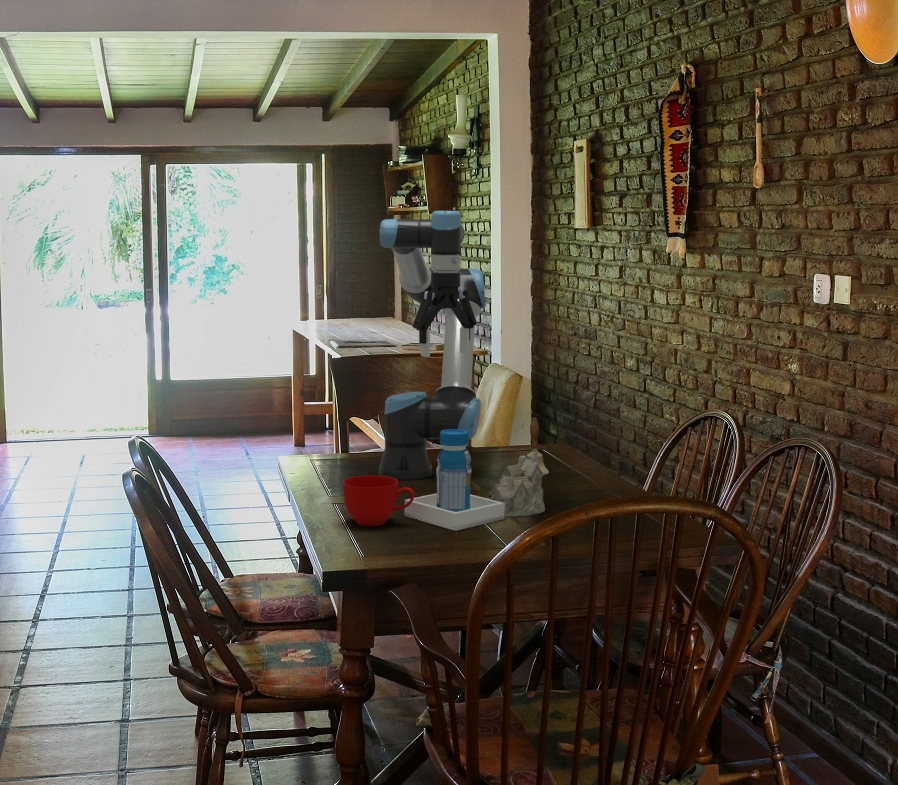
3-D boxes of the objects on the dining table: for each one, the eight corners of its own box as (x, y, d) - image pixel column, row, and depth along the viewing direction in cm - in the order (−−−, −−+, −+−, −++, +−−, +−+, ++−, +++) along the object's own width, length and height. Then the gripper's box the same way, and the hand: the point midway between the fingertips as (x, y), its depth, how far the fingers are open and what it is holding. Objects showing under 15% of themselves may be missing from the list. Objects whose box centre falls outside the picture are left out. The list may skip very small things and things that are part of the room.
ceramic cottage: (524, 497, 286) (523, 441, 283) (556, 514, 271) (555, 455, 268) (470, 507, 280) (468, 449, 277) (499, 525, 265) (498, 464, 262)
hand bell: (529, 476, 312) (530, 421, 310) (514, 471, 319) (515, 416, 317) (554, 474, 316) (555, 419, 314) (539, 468, 323) (540, 414, 321)
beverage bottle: (447, 519, 259) (448, 435, 257) (429, 511, 267) (430, 430, 264) (477, 515, 264) (478, 432, 261) (459, 507, 271) (460, 427, 268)
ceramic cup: (408, 532, 252) (408, 489, 250) (336, 528, 255) (336, 485, 253) (419, 518, 264) (419, 477, 263) (351, 514, 267) (351, 474, 266)
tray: (404, 516, 266) (404, 499, 266) (453, 505, 277) (453, 490, 277) (455, 530, 253) (455, 513, 253) (504, 519, 264) (504, 502, 264)
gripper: (418, 273, 271) (418, 359, 274) (490, 271, 288) (489, 352, 290) (398, 272, 276) (398, 356, 279) (470, 270, 293) (469, 350, 296)
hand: (445, 354), depth 285 cm, fingers open, 13 cm apart
